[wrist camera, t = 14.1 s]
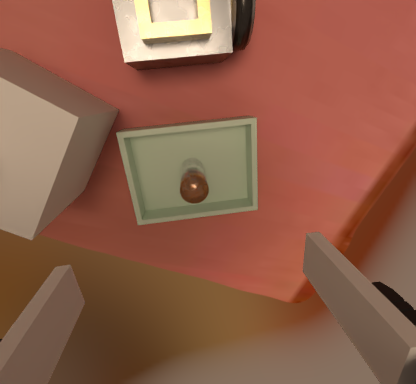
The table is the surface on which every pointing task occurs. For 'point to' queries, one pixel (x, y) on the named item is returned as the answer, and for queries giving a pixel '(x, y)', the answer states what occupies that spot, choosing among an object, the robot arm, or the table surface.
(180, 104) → the table surface
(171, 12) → the block
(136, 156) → the tray
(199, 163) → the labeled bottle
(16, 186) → the grey box
